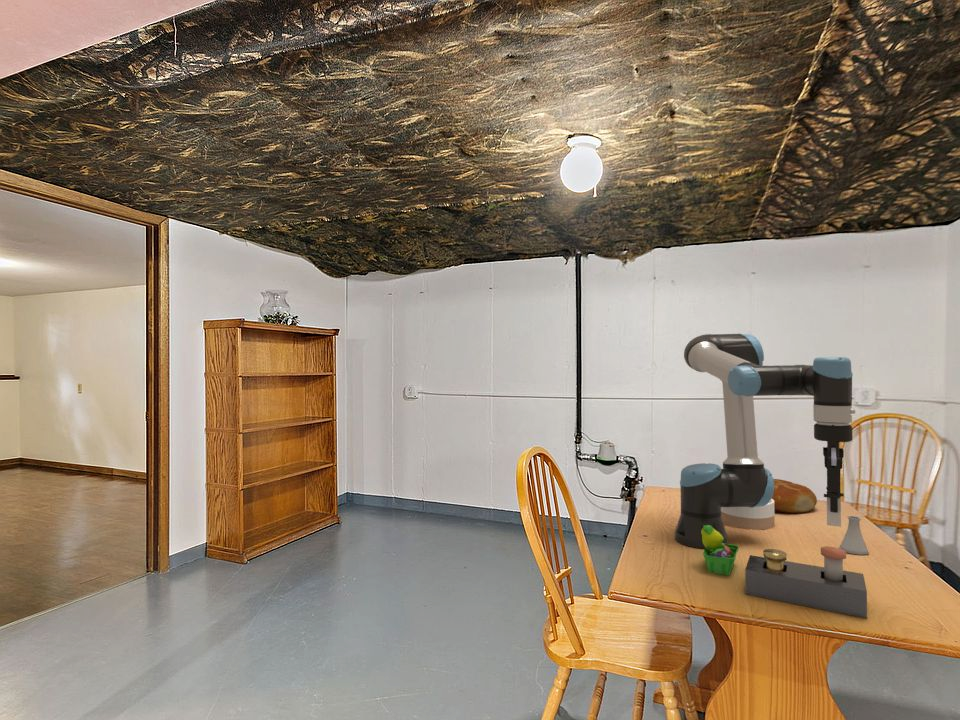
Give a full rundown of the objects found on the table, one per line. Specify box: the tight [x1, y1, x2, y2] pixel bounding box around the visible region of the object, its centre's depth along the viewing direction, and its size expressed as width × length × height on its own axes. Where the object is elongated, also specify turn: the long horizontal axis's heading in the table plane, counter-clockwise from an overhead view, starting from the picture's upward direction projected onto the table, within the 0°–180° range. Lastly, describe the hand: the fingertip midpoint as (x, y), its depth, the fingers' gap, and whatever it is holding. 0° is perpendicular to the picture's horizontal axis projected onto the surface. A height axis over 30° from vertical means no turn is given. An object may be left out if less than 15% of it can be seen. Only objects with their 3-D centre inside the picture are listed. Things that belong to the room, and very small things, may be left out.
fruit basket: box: [701, 525, 740, 576], centre depth 149 cm, size 11×9×11 cm
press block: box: [744, 554, 868, 619], centre depth 130 cm, size 24×11×6 cm, turn 58°
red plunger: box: [820, 545, 847, 582], centre depth 127 cm, size 5×5×8 cm
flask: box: [839, 515, 870, 556], centre depth 160 cm, size 7×7×10 cm
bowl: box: [721, 498, 776, 531], centre depth 188 cm, size 17×17×8 cm
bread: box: [772, 478, 818, 514], centre depth 206 cm, size 23×23×10 cm
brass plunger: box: [762, 548, 788, 572], centre depth 134 cm, size 5×5×8 cm
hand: (833, 525), depth 127 cm, fingers closed
